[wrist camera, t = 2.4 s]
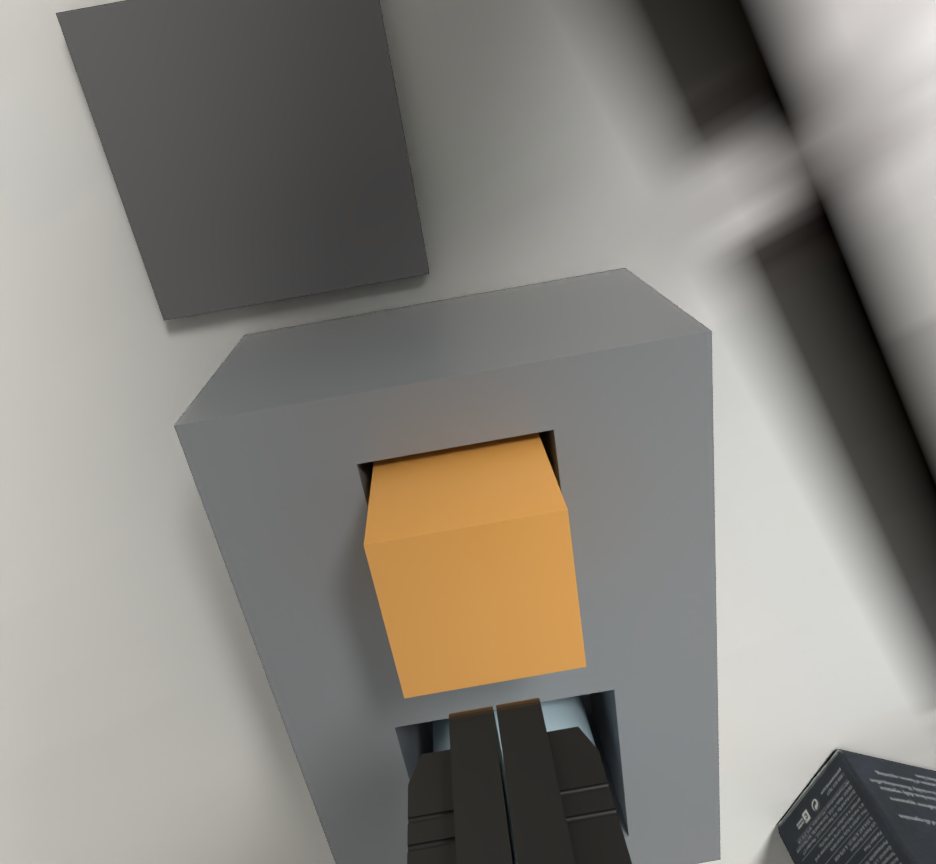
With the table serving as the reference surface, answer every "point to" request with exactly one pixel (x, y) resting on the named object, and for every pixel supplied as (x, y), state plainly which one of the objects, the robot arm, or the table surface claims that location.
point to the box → (864, 814)
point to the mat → (251, 145)
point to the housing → (457, 424)
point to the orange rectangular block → (473, 565)
